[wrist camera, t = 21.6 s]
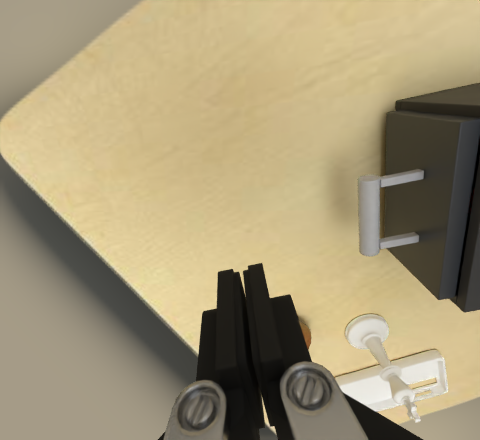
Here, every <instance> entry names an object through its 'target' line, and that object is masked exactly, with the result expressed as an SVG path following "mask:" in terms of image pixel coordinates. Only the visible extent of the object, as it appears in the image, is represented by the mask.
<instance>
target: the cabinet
mask: <svg viewBox="0 0 480 440" xmlns="http://www.w3.org/2000/svg"><path fill="white" fill-rule="evenodd" d="M396 110H410V111H420V112H430V113H439V114H449V115H458V116H468V117H478V118H480V83H476V84H471V85H467V86H462V87H458V88H453V89H448V90H444V91H439V92H434V93H430V94H425V95H421V96H416V97H411V98H407V99H402V100H397V101H396ZM449 299H450V300H451V301H452V302H453V303H454V304H456V305H457V306H458V307H459V308H460V309H461V310H462V311H463V312H470V311H475V310H480V158H479V164H478V171H477V177H476V183H475V190H474V196H473V202H472V208H471V215H470V221H469V227H468V233H467V240H466V246H465V252H464V258H463V265H462V271H461V274H460V273H459V274H458V281H457V287H456V294H455V297H453V298H449Z"/></svg>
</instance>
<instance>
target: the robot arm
mask: <svg viewBox="0 0 480 440" xmlns="http://www.w3.org/2000/svg"><path fill="white" fill-rule="evenodd" d="M243 275H244V284H245V293H244V289H243V285H242V281H241V277H240V274H239V272H235V273H234V271H233V269H230V270H225V271H220V272H218V288H217V309H212V310H207V311H204V312H203V314H202V323H201V334H200V345H199V356H198V366H197V377H196V382H194V383H192V384H190V385H189V386H187V387H186V388H185V389H184V390H183V391H182V392H181V393H180V395H179V396H178V397H177V399H176V401H175V403H174V406H173V408H172V411H171V415H170V418H169V421H168V425H167V428H166V431H165V432H164V433H163V435H162V436H161V437H160V438H159V439H158V440H260V435H259V429H260V428H265V422H264V413H263V405H262V398H263V402H264V405H265V409H266V413H267V416H268V420H269V424H270V427H271V426H275V429H276V433H277V437H278V440H423V439H421V438H420V437H417V436H416V435H414V434H413V433H411V432H409V431H408V430H406V429H404V428H403V427H401V426H399V425H397V424H396V423H394V422H392V421H391V420H389V419H387V418H386V417H384V416H382V415H381V414H379V413H377V412H375V411H374V410H372V409H370V408H369V407H367V406H365V405H364V404H362V403H360V402H359V401H357V400H355V399H353V398H352V397H350V396H348V395H347V394H345V393H343V392H342V391H341V389H340V387H339V385H338V383H337V381H336V380H335V378H334V377H333V375H332V374H331V373H330V371H329V370H327V369H326V368H325V367H323V366H322V365H319V364H317V363H314V362H312V361H311V357H310V354H309V351H308V348H307V345H306V342H305V339H304V335H303V332H302V329H301V326H300V323H299V320H298V317H297V313H296V310H295V307H294V304H293V301H292V298H291V295H285V296H279V297H274V298H270V297H269V293H268V288H267V283H266V279H265V274H264V270H263V265H262V263H260V264H255V265H250V266H248V270H245V271H243ZM245 294H246V297H245ZM261 395H262V397H261Z"/></svg>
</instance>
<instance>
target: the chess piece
mask: <svg viewBox="0 0 480 440" xmlns="http://www.w3.org/2000/svg"><path fill="white" fill-rule="evenodd" d="M388 334H389V327H388V325H387V323H386V321H385V319H384V318H382V317H381V316H379V315H375V314H366V315H362V316H359V317H357V318H355V319H354V320H352V321H351V322H350V323H349V324H348V326H347V328H346V330H345V336H346V338H347V340H348V341H349V343H350V344H351V345H352V346H353V347H355V348H358V349H369V350H370V352H371V353H372V354H373V356H374V357H375V359H376V360H377V361H378V363H379V364H380V366H381V367H382V370H381V371H380V377H381V378H382V380H384V381H386V382H389V383H390V388H391V393H392V398H393V400H394V402H395V403H397V404H405V405H406V407H407V409H408V413H407V414H408V416H409V418H410V419H413V420H414V421H415V422H420V417H419V415H418V413H417V412H416V408H417V406H416V405H415V403H414V402H412V401H413V400H414V398H415V392H414V391H413V390H412V389H411V388H410V387H409V386H408V385H407V384H406V383H405V382H404V381H403V380H402V379H400V377H401V375H402V371H401V368H400V367H398V366H396V365H391V363H390V361H389V358H388V356H387V354H386V352H385V349H384V347H383V345H382V343H383V342H384V341H385V340H386V338H387V337H388Z"/></svg>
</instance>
